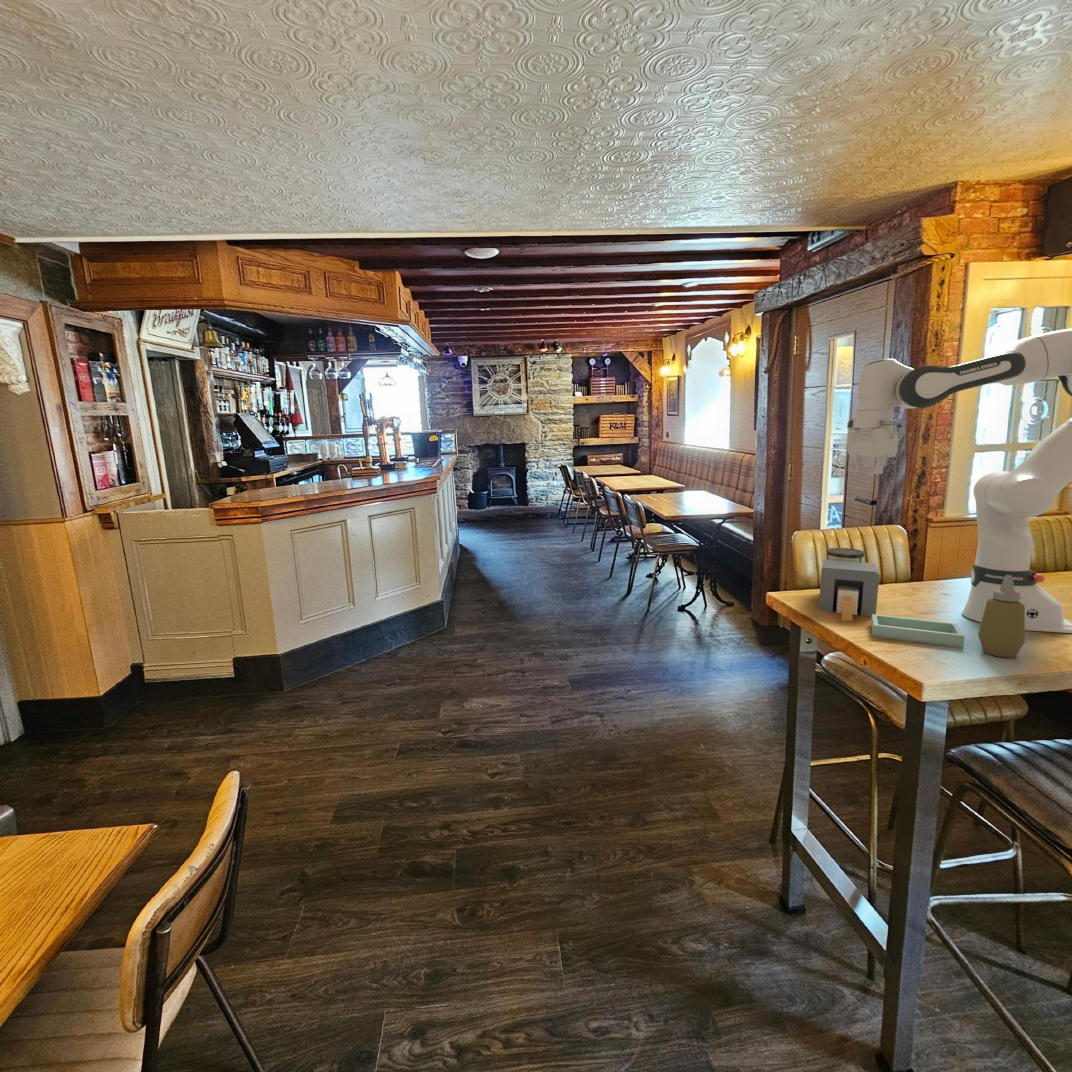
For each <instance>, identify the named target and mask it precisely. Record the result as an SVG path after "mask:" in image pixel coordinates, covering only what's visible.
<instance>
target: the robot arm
mask: <svg viewBox="0 0 1072 1072" xmlns="http://www.w3.org/2000/svg"><path fill="white" fill-rule="evenodd" d="M1056 377H1057V378H1058V379H1059V381H1060V383H1061V386H1062V388H1063V390H1064V392H1065V393H1066V394H1067V395H1068V396H1070V397H1072V328H1067V329H1061V330H1060V329H1059V330H1055V331H1049V332H1044V333H1040V334H1036V335H1032V336H1029V337H1028V336H1027V337H1024V338H1021V339H1018V340H1016V341H1013V342H1011V343H1008V344H1006V345H1004V346H1001V347H1000V348H998V349H997V350H996V351H995V352H994V353H993V354H991V355H989V356H986V357H984V358H980V359H977V360H976V359H975V360H973V361H968V362H965V363H961V364H957V365H951V366H940V365H939V366H938V365H922V366H918V367H916V368H912V367H909V366H906V365H905V364H902V363H900V362H899V361H897V359H895V358H882V359H878V360H874V361H871V362H869V363H867V364H866V365H864V367H862V369H861V371H860V375H859V379H858V385H857V395H856V396H857V399H858V402H857V407H856V409H855V415H854V416H853V417H852V418H851V419H850V420H847V424H846V428H847V429H848V432H847V437H846V441H847V442H846V451H847V453H848V455H849V456H854V461H855V464H856V465H855V466H856V467H855V471H856V472H858V473H865V471H866V465H865V459H866V457H875V461H876V463H875V466H873V469H872V473H873V474H875V475H882V474H884V467H885V465H886V463H888V462H887V461H888V458H894V457H896V456H897V453H898V451H899V449H898V447H899V444H898V443H899V442H898V441H899V438H898V437H899V433H898V429H897V428H896V426H895V424H894V411H895V407H901V408H903V409H904V408H905V409H918V408H919V409H923V408H929V407H934V406H935V405H937V404H939V403H940V402H942V401H943V400H944V399H945V400H946V398H948V397H949V396H951V395H952V394H956V393H958V392H961V391H965V390H969V389H973V388H977V387H980V386H981V387H982V386H985V385H989V384H1001V385H1003V386H1017V385H1024V384H1030V383H1034V382H1039V381H1043V380H1047V379H1051V378H1056ZM1071 481H1072V417H1070V418H1069V419H1067V420H1066V421H1065V422H1063V423H1062V424H1061V425H1060V426H1058V427H1057V428H1055V430H1053V431H1052V432H1050V433H1049V434H1048V435H1046V436H1045V437H1044V438H1043V439H1042V440H1040V441H1038V443H1036V444H1035V445H1034V446H1033V447H1032V450H1031V452H1030V453H1029V454H1028V455H1027V457H1026V458H1024V460H1023V461H1022V462H1021V463H1020V464H1019V465H1018V466H1017V467H1016V468H1014V469H1013V470H1011V471H1008V470H1007V471H1006V470H999V471H994V472H991V473H988V474H985V475H983V476H982V477H980V478H979V479H978V480H977V481H976V483H975V485H974V486H973V497H974V500H975V509H976V510H975V511H976V523H977V545H976V554H975V562H974V564H973V565H972V569H971V573H970V584H971V588H970V591H969V594H968V598H967V601H966V604H965V605H964V608H963V610H962V611H961V615H963V616H964V617H965V618H968V619H969V620H973V621H976V622H979V623H981V622H982V618H983V614H984V610H985V606H986V602H987V601H988V600H990V599H992V598H993V591H994V590H997V589H1000V587H1001V585H1002V583H1003V580H1004V578H1005V576H1006V575H1010V576H1012V577H1013V583H1014V590H1015V591H1016V592H1019V593H1020V594H1021V595H1020V601H1018V602H1021V603H1022V604H1023V605H1024V606H1025V631H1030V632H1031V631H1035V632H1048V633H1060V634H1061V633H1063V634H1064V633H1065V634H1072V622H1071V621H1070V620H1068V619H1066V618H1065V617H1064V609H1063V606H1062V604H1061V602H1060V601H1059V600H1058V599H1056V597H1054V596H1053V595H1051V594H1050V593H1049V592H1048V591H1047V590H1045V589H1043V588H1042V587H1041V586H1039V585H1038V584H1037V583H1044V581H1046V578H1045V575H1043V574H1041V573H1039V572H1036V571H1035V570H1032V569H1030V565H1031V558H1032V557H1031V556H1032V550H1033V543H1034V540H1033V535H1032V534H1031V530H1030V526H1029V525H1030V524H1029V518H1032V517H1034V518H1035V517H1038V516H1040V515H1043V514H1044V513H1046V512H1047V511H1049V509H1050V508H1051V507H1052V506H1053V504H1054V501H1055V498H1056V497H1057V496H1058V494H1060V493H1061V492H1062V491H1063V490H1064V488H1065V487H1066V486H1067V485H1068V484H1069V483H1070V482H1071Z"/></svg>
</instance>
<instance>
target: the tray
mask: <svg viewBox="0 0 1072 1072" xmlns="http://www.w3.org/2000/svg"><path fill="white" fill-rule="evenodd" d="M870 629H871V635H872V637H873V638H878V639H886V640H887V639H888V640H894V641H902V642H903V641H904V642H911V643H918V644H925V645H926V644H927V645H933V646H941V647H942V646H943V647H949V648H956V649H964V642H965V634H964V633H963V631H962V630H961V628H960V626H959V625H958V623H956V622H946V621H939V620H929V619H922V618H921V619H919V618H913V617H903V616H894V615H893V616H892V615H883V614H877V613H876V614H872V616H871V621H870Z"/></svg>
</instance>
